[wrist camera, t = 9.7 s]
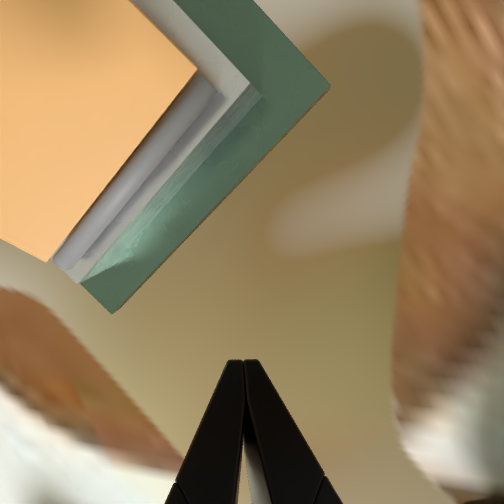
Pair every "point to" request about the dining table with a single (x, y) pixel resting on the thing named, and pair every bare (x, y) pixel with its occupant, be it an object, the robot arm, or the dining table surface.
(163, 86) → the tan square pad
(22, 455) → the dining table surface
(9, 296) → the dining table surface
